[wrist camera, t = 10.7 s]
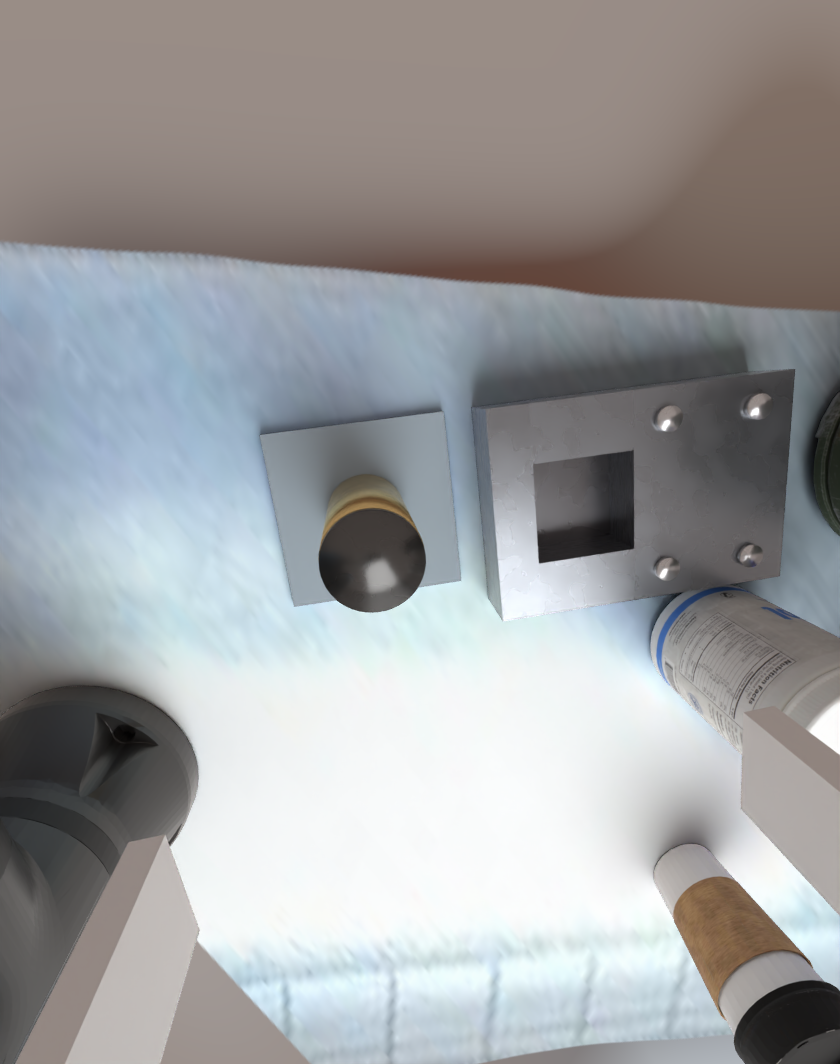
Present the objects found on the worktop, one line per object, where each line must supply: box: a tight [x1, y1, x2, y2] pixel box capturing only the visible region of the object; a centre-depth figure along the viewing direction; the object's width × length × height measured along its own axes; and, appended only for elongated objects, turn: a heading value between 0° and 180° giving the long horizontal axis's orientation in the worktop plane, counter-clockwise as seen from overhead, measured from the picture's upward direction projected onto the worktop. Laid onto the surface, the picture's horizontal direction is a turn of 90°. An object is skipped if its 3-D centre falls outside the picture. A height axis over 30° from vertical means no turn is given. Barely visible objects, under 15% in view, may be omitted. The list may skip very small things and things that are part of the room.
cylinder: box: [318, 474, 426, 612], centre depth 30 cm, size 5×5×11 cm
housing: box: [471, 369, 795, 621], centre depth 35 cm, size 20×14×4 cm
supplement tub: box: [650, 584, 840, 755], centre depth 35 cm, size 10×10×15 cm
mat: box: [260, 411, 461, 607], centre depth 35 cm, size 12×12×1 cm
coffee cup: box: [654, 844, 840, 1064], centre depth 41 cm, size 8×8×15 cm
